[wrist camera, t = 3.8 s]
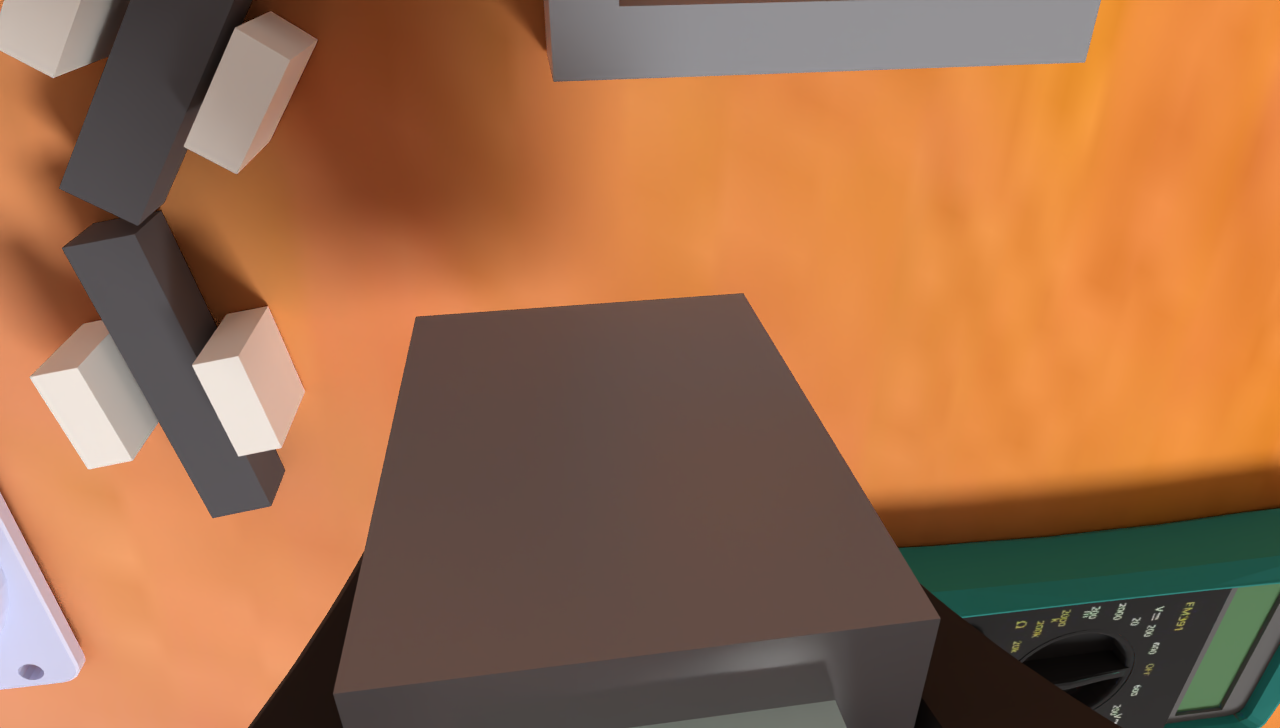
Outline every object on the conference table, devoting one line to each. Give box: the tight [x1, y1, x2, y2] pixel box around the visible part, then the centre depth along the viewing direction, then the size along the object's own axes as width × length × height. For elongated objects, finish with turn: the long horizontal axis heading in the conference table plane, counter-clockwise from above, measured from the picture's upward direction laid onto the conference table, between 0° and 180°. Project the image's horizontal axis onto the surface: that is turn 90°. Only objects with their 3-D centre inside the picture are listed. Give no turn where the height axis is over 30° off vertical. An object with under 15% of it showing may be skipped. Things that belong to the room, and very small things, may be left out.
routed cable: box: [0, 0, 318, 518], centre depth 13 cm, size 5×16×2 cm, turn 154°
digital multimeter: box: [898, 508, 1280, 728], centre depth 23 cm, size 7×15×3 cm, turn 90°
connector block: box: [333, 293, 941, 728], centre depth 10 cm, size 4×6×6 cm
